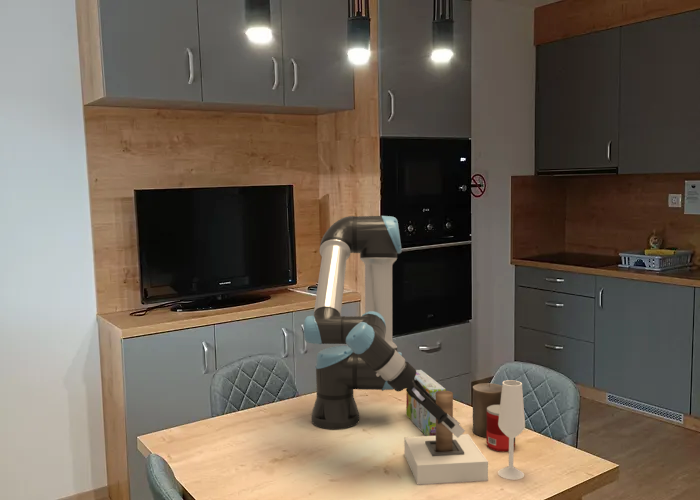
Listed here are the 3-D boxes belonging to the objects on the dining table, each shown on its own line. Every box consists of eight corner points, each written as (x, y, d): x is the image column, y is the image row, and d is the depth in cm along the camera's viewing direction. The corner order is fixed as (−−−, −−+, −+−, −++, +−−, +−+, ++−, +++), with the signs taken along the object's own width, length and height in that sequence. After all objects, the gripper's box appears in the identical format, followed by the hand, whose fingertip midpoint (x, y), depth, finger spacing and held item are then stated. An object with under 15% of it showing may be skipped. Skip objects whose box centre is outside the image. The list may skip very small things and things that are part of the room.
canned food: (515, 453, 181) (516, 414, 179) (486, 451, 182) (486, 413, 181) (514, 442, 188) (515, 405, 187) (486, 440, 190) (486, 403, 189)
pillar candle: (506, 439, 190) (507, 389, 189) (472, 437, 192) (472, 387, 191) (504, 427, 200) (505, 379, 198) (471, 425, 202) (472, 377, 200)
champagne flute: (523, 469, 171) (525, 379, 168) (524, 480, 164) (526, 388, 162) (497, 467, 172) (498, 378, 170) (497, 478, 166) (498, 386, 163)
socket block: (404, 454, 181) (404, 435, 180) (468, 451, 182) (468, 431, 182) (417, 484, 163) (417, 463, 162) (487, 480, 164) (488, 459, 164)
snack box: (446, 438, 192) (446, 388, 190) (428, 440, 190) (428, 390, 189) (421, 413, 212) (421, 368, 211) (404, 415, 211) (404, 369, 209)
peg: (434, 449, 174) (434, 390, 172) (450, 448, 174) (450, 390, 173) (437, 456, 169) (438, 396, 168) (454, 455, 170) (454, 395, 168)
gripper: (381, 372, 177) (440, 428, 180) (391, 392, 160) (457, 453, 163) (400, 352, 177) (459, 408, 180) (412, 370, 160) (478, 432, 163)
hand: (458, 430), depth 172 cm, fingers closed on peg, 4 cm apart
